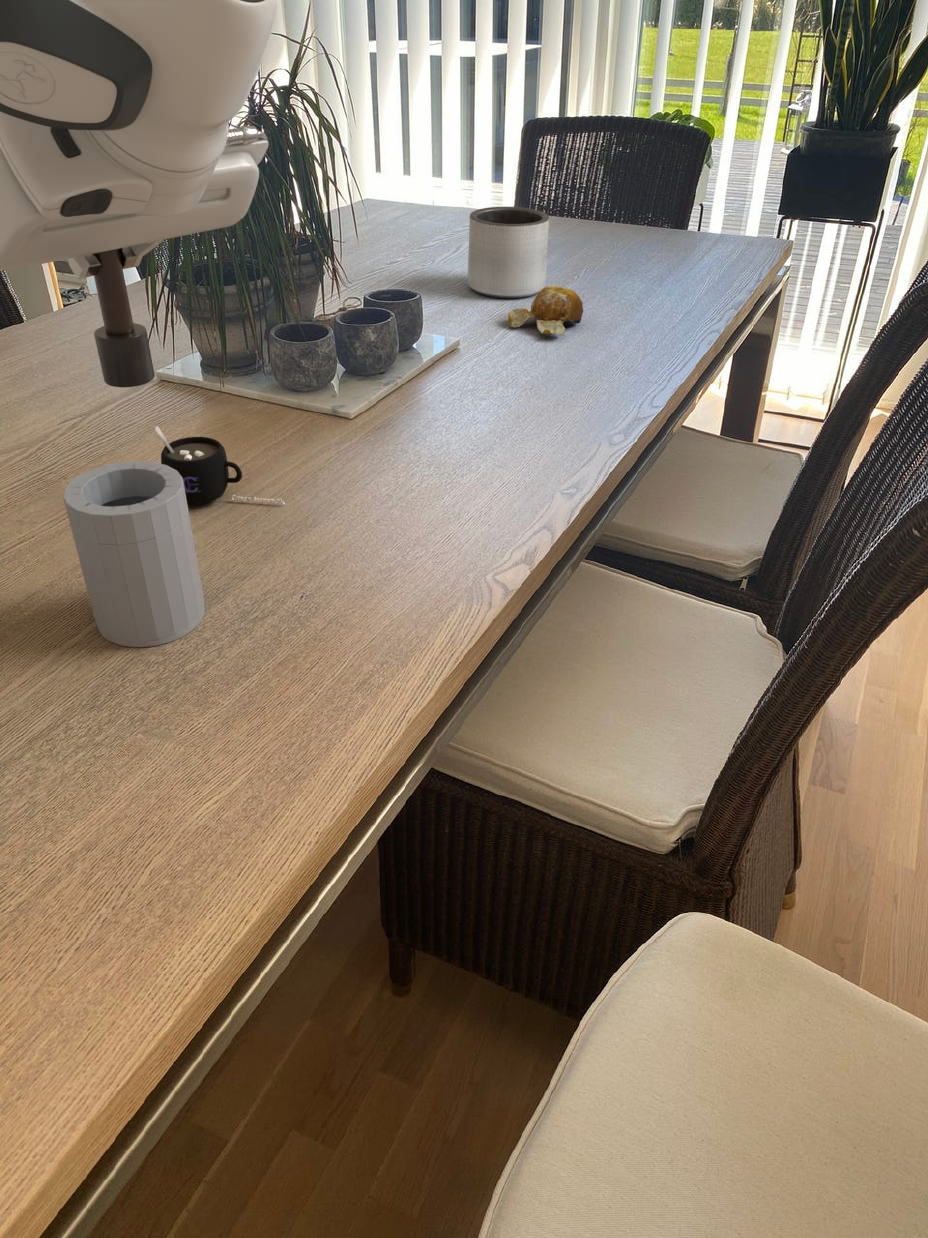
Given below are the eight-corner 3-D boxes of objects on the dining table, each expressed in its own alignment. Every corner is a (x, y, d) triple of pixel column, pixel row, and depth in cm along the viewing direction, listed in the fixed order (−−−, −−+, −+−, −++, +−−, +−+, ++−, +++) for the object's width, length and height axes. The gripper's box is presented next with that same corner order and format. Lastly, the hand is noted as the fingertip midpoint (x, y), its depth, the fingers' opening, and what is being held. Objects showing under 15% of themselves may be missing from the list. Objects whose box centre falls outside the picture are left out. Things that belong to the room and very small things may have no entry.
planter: (550, 280, 157) (555, 208, 150) (538, 303, 147) (542, 227, 140) (477, 274, 159) (478, 203, 153) (459, 296, 149) (460, 221, 143)
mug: (156, 510, 93) (142, 440, 88) (180, 481, 98) (167, 413, 93) (275, 520, 91) (267, 449, 87) (293, 489, 96) (286, 421, 92)
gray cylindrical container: (112, 659, 74) (78, 525, 67) (86, 604, 80) (52, 476, 73) (219, 627, 77) (197, 497, 70) (186, 577, 83) (163, 452, 76)
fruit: (498, 322, 138) (499, 289, 136) (546, 307, 145) (548, 276, 142) (554, 339, 132) (556, 305, 130) (601, 323, 139) (604, 290, 136)
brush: (111, 391, 76) (64, 174, 67) (98, 374, 79) (52, 164, 69) (160, 382, 78) (122, 169, 68) (147, 366, 80) (108, 159, 71)
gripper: (253, 86, 68) (198, 207, 79) (-33, 115, 56) (-51, 253, 67) (297, 163, 68) (235, 273, 79) (21, 208, 56) (-6, 330, 67)
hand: (102, 264), depth 73 cm, fingers closed on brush, 2 cm apart
